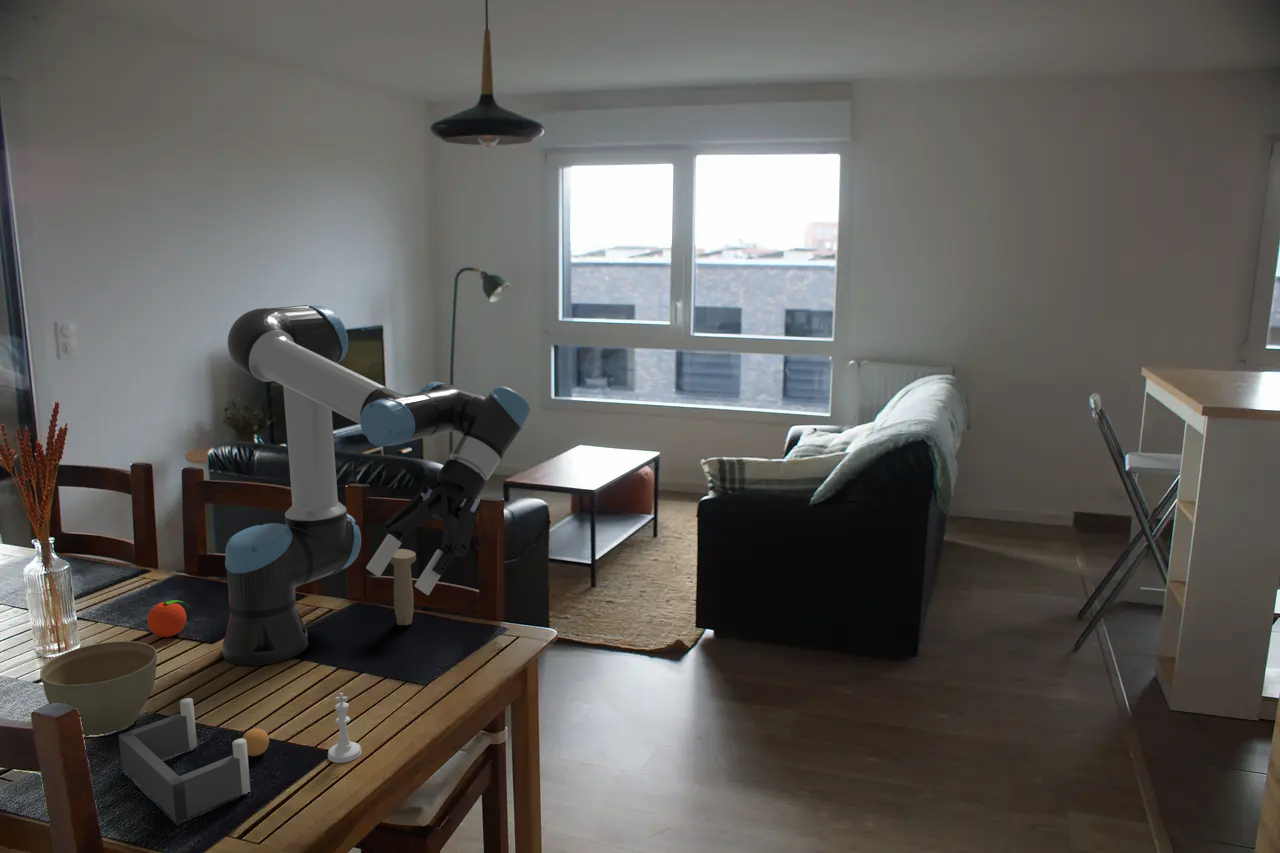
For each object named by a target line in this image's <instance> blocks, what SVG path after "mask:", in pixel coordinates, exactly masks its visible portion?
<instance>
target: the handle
mask: <svg viewBox="0 0 1280 853" xmlns="http://www.w3.org/2000/svg"><path fill="white" fill-rule="evenodd" d="M416 561H417V555H416V552H415V551H413V550H410V549H407V548H406V549H405V548H398V550H397V551H396V553H395V554H394V556H393V557H392V559H391V560H390V562H389V563H390V564H391V565H393V605H394V608H393V609H394V613H395V617H396V624H397V625H398V626H403V625H404V627H405V625H406V626H408V625H409V626H410V625H412V624H413V623H412V622H413V615H414V604H415V603H414V602H415V601H414V600H415V599H414V590H413V579H412V578H413V577H412V568H411V566H412V564H413V563H414V562H416Z"/></svg>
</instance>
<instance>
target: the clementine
mask: <svg viewBox="0 0 1280 853" xmlns="http://www.w3.org/2000/svg"><path fill="white" fill-rule="evenodd" d="M178 602H179V603H178ZM180 603H184V604H186V606H187V607H189V605H188V603H186V602H184V601H181V600H177V599H176V600H175V599H174V600H173V599H172V600H168V601H163V602H159V603H158V604H156V605H155V606H154V607H151V610H150V611H149V613H148V615H147V619H146V620H147V621H146V622H147V626H148V629H149V631H150V632H151V633H153V634H154V635H155V636H157V637H161V638H169V637H173V636H175V635H178V634H179V633H180V632H182V630H183V629H184V627H185V625H186V623H187V618H188V616H187V613H186V610H185V608H184V607H183V606H182V605H181V604H180Z"/></svg>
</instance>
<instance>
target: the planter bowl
mask: <svg viewBox="0 0 1280 853" xmlns="http://www.w3.org/2000/svg"><path fill="white" fill-rule="evenodd" d="M157 661H158V653H157V650H156V648H155V647H154V646H152V645H151V644H148V643H145V642H140V641H139V642H138V641H133V640H131V641H130V640H115V641H105V642H101V643H94V644H90V645H85V646H82V647H77V648H75V649H72V650H69V651H67V652H64V653H61V654H59V655H58V656H56V657H54V658H52V659H50V660H49V661H48V662H46V663H45V664H44V665H43V666H42V668H41V669H40V672H39V676H40V680H41V682H42V685H43V689H44V690H43V691H44V694H45V698H46V700H47V702H48V704H49V705H50V704H52V703H65V704H68V705H70V706H73V707H76V708H77V709H78V711H79V713H80V717H81V722H82V727H83V730H84V735H85V737H84V738H86V736H89V735H100V734H106V733H110V732H113V731H117V730H120V729H123V728H125V727H127V726H129V725H130V724H132V723H133V722H135V721H136V720H137V719H138V720H139V718H140V712H141V710H142V709H143V708H144V706H145V705H146V703H147V701H148V699H149V697H150V696H151V694H152V691H153V688H154V685H155V680H156V676H157V675H156V674H157ZM138 717H139V718H138ZM138 720H137V721H138ZM137 721H136V722H137Z"/></svg>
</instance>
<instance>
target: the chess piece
mask: <svg viewBox="0 0 1280 853" xmlns="http://www.w3.org/2000/svg"><path fill="white" fill-rule="evenodd" d="M338 695H339V696H335V700H334V701H336V702H339V703H337V704H335V706H334V709H335V711H336V713H337V716H338V717H337V718H336V719H335V724H337V725H339V732H338V742H337V743H336V744H334V745H333V746H331V747H330V748H329V749H328V751H327V758H328V760H329V761H330V762H332V763H337V764H338V763H339V764H340V763H341V764H342V763H344V764H345V763H348V762H352V761H353V760H354V761H355V760H356V759H358V758H359V757H360V756H361V754H362V752H363V751H362V747H361V745H360V744H359V743H357V742H354V741H351V740H350V737H349V732H348V731H349V730H348V725H347V724H348V723H349V722H350V721H351V718H350V717H349V716H348V715H347V714H348V711H349V705H350V704H349V703H347V702H345V701H348V698H349V697H348V696H344V693H343V692H339V694H338Z"/></svg>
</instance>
